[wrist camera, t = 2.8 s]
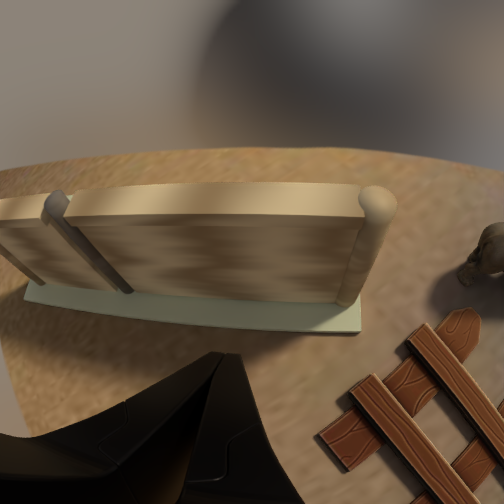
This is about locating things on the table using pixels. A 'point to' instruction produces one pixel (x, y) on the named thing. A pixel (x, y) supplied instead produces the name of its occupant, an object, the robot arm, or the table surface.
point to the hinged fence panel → (239, 238)
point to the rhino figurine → (486, 255)
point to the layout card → (203, 309)
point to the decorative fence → (412, 401)
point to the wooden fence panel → (53, 245)
